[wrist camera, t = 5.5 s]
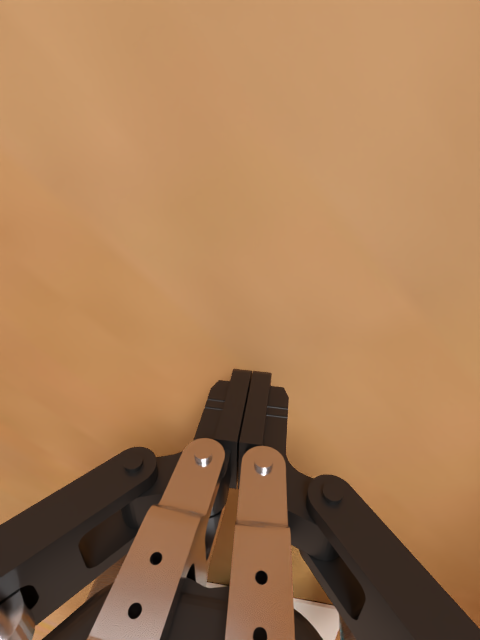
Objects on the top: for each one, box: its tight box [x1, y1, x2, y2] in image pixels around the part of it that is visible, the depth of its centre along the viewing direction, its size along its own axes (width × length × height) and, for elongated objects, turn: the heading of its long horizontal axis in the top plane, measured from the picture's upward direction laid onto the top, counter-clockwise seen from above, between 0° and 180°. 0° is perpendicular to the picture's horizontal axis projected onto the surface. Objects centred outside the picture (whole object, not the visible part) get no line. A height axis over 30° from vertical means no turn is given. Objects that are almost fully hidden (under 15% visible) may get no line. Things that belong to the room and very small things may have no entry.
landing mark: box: [206, 582, 339, 640], centre depth 29 cm, size 14×14×1 cm
